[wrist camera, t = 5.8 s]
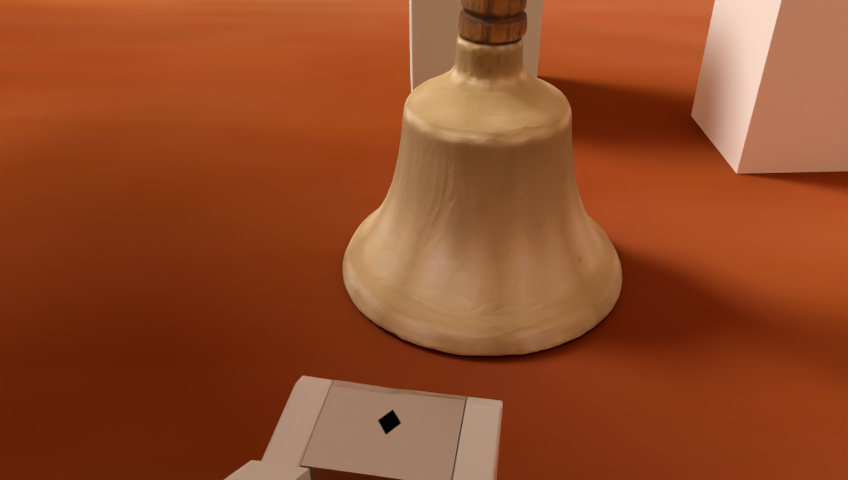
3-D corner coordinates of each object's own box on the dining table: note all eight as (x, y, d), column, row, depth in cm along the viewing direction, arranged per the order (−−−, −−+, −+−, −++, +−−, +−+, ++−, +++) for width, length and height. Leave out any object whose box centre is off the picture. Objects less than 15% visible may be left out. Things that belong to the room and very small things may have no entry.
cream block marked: (736, 173, 27) (815, -131, 22) (690, 115, 32) (747, -153, 26) (880, 170, 28) (994, -133, 22) (815, 113, 32) (898, -155, 26)
